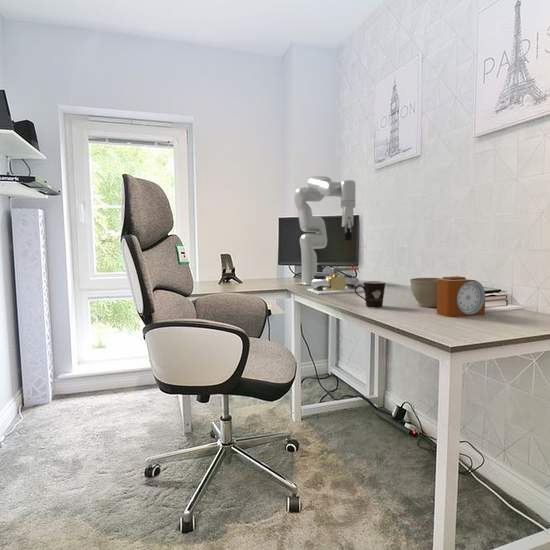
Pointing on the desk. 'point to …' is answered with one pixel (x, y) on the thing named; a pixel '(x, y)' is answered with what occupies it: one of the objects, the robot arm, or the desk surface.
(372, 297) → the coffee mug
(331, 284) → the valve pipe
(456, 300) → the alarm clock
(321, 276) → the electrical switch
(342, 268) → the valve lever
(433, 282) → the planter bowl
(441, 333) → the desk surface
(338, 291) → the board
